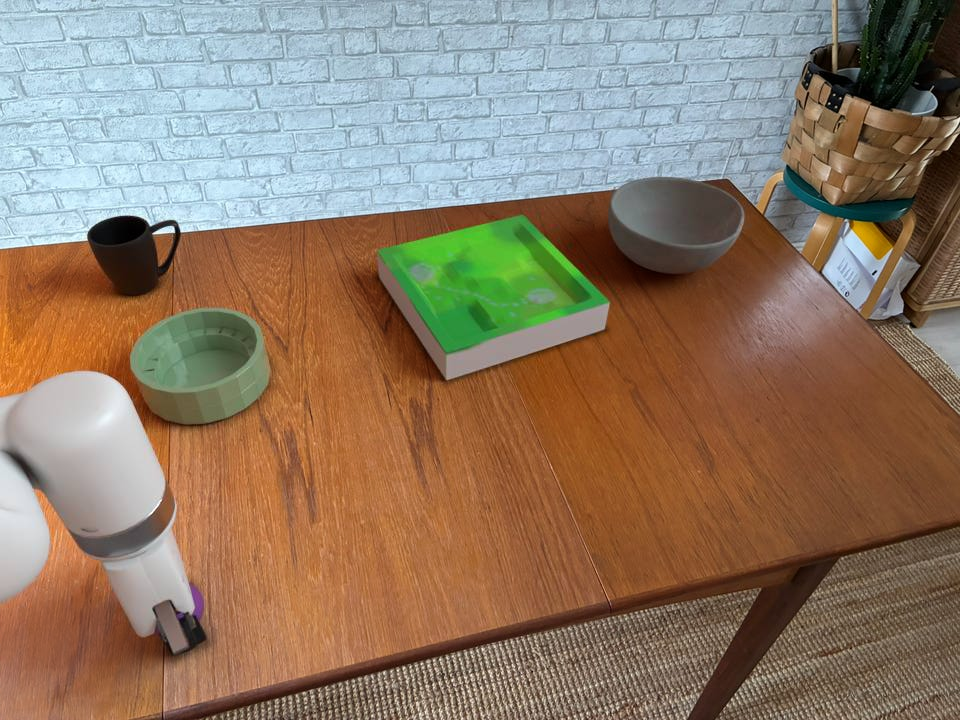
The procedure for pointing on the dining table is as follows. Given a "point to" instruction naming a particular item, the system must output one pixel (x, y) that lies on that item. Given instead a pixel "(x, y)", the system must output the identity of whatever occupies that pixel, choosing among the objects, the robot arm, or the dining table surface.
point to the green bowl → (201, 365)
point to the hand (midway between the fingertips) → (180, 619)
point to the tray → (490, 294)
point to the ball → (197, 603)
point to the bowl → (673, 223)
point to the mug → (130, 252)
